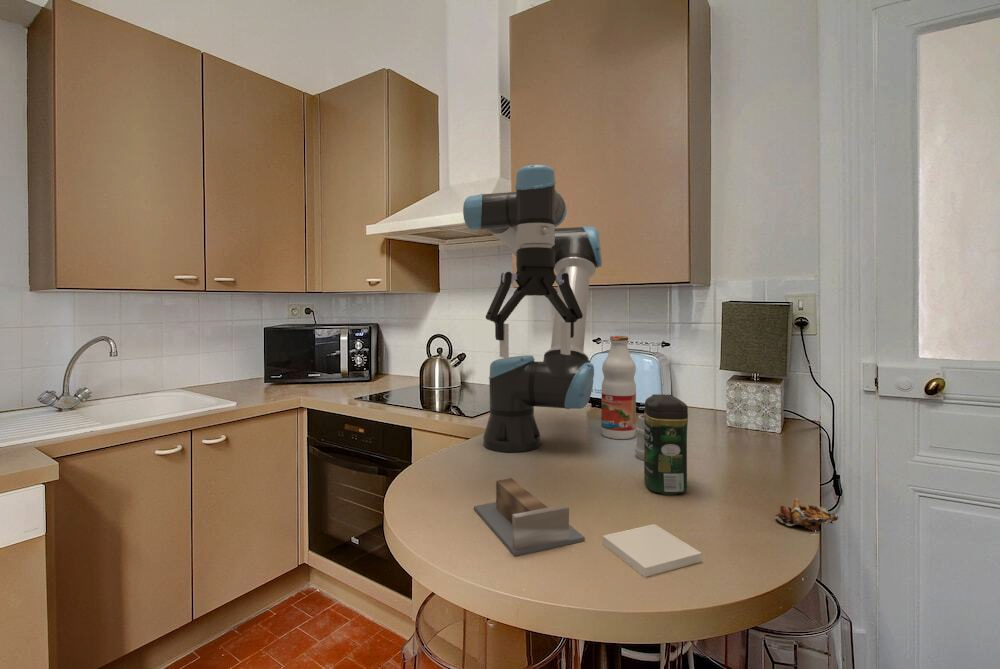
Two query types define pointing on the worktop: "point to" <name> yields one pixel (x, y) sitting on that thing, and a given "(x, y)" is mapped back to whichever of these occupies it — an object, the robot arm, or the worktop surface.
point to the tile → (651, 550)
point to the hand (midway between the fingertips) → (535, 356)
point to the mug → (640, 437)
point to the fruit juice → (618, 392)
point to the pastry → (805, 516)
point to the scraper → (530, 516)
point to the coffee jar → (665, 444)
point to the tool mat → (504, 533)
